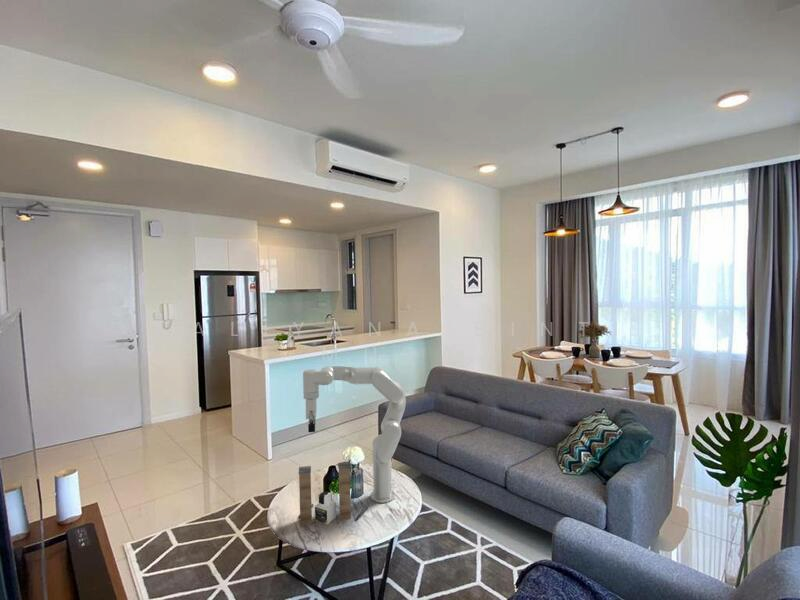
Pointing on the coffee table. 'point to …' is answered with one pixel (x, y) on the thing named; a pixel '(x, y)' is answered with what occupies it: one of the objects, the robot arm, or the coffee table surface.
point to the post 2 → (344, 490)
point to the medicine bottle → (325, 508)
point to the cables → (357, 516)
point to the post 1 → (305, 495)
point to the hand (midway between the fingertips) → (312, 428)
